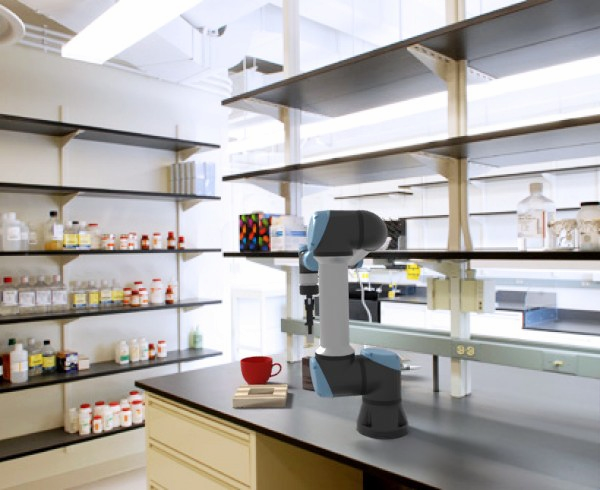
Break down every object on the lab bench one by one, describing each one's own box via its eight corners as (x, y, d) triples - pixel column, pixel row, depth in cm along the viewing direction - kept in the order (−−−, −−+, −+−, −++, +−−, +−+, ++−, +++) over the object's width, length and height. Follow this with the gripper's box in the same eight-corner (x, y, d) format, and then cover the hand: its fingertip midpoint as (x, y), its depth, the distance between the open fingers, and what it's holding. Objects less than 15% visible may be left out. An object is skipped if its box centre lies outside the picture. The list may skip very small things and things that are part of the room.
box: (321, 388, 190) (320, 357, 190) (314, 391, 186) (313, 359, 186) (308, 386, 193) (307, 355, 194) (301, 389, 190) (300, 357, 190)
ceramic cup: (276, 390, 189) (276, 364, 189) (235, 388, 193) (235, 362, 193) (286, 381, 201) (286, 356, 201) (247, 379, 206) (247, 355, 206)
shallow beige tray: (285, 406, 168) (284, 398, 169) (232, 407, 169) (232, 398, 169) (287, 392, 186) (287, 384, 186) (240, 393, 186) (239, 385, 186)
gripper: (319, 286, 178) (320, 345, 178) (318, 281, 203) (319, 333, 203) (298, 287, 178) (299, 346, 178) (300, 282, 203) (301, 333, 203)
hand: (310, 339), depth 190 cm, fingers open, 13 cm apart
